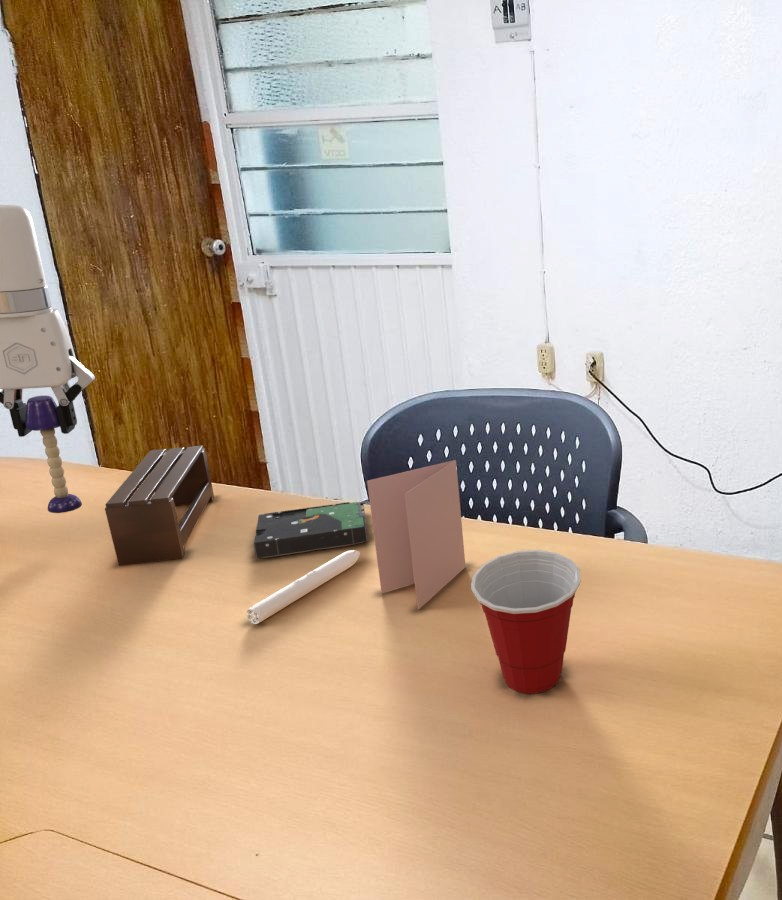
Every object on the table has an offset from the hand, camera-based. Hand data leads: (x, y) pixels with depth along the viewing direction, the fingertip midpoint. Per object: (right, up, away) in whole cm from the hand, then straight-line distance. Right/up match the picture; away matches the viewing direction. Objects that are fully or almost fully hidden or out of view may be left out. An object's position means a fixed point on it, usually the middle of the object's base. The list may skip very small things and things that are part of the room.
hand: (47, 430), depth 116 cm
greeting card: (+57, -20, -13) cm, 61 cm away
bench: (+14, -14, +6) cm, 21 cm away
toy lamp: (0, -11, +4) cm, 12 cm away
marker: (+41, -20, -12) cm, 48 cm away
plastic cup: (+70, -26, -31) cm, 81 cm away
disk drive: (+37, -15, +2) cm, 40 cm away
